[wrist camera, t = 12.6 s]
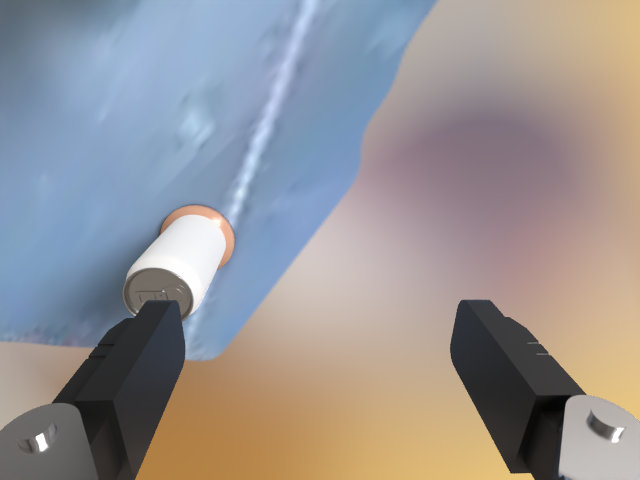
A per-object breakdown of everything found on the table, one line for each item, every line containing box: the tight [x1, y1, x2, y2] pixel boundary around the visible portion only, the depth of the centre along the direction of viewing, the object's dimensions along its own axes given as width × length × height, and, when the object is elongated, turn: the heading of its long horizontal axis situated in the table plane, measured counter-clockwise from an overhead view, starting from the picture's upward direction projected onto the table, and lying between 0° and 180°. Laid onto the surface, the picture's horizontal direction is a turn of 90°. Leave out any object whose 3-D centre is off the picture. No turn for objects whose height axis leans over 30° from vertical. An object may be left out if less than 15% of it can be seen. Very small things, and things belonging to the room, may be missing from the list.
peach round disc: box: [160, 204, 235, 269], centre depth 41 cm, size 8×8×1 cm
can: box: [122, 215, 226, 322], centre depth 35 cm, size 6×6×12 cm
